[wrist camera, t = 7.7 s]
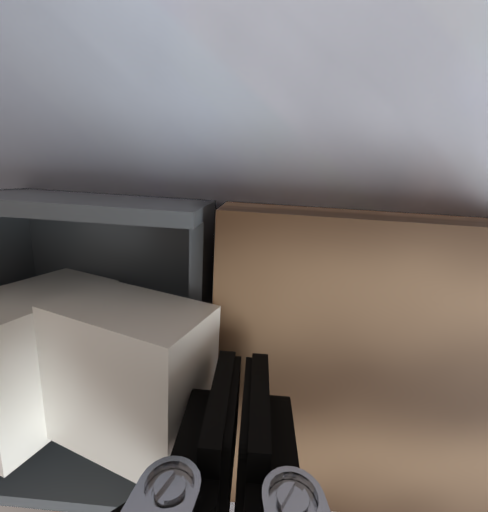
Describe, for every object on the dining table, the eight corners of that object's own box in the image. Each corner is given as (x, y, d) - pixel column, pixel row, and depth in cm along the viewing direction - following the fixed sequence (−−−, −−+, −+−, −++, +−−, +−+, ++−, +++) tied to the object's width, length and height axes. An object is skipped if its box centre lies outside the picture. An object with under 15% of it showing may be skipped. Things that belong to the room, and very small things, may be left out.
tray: (22, 188, 14) (-89, 194, 9) (215, 200, 13) (193, 212, 9) (49, 417, 17) (-25, 502, 12) (207, 431, 16) (188, 524, 12)
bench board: (226, 201, 13) (215, 210, 10) (514, 219, 13) (604, 234, 10) (216, 432, 16) (205, 499, 13) (450, 453, 16) (501, 527, 13)
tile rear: (118, 280, 13) (66, 268, 14) (-19, 332, 8) (-81, 308, 9) (121, 384, 14) (73, 365, 15) (4, 477, 10) (-54, 442, 11)
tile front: (107, 278, 12) (31, 306, 10) (221, 306, 11) (168, 348, 8) (112, 387, 14) (46, 438, 11) (214, 427, 12) (167, 499, 9)
